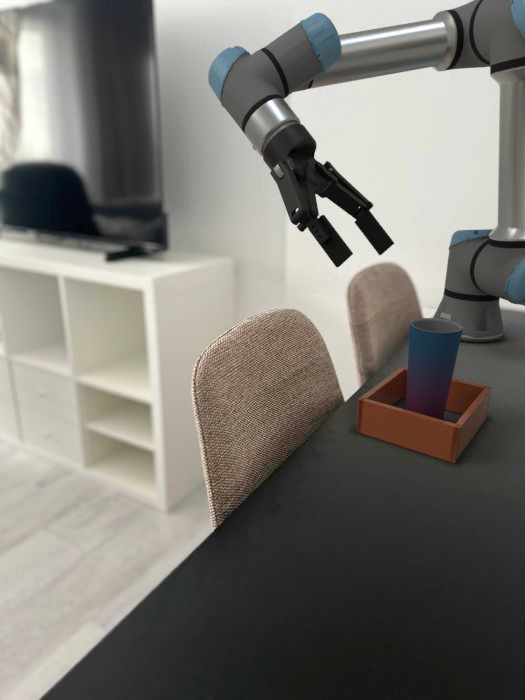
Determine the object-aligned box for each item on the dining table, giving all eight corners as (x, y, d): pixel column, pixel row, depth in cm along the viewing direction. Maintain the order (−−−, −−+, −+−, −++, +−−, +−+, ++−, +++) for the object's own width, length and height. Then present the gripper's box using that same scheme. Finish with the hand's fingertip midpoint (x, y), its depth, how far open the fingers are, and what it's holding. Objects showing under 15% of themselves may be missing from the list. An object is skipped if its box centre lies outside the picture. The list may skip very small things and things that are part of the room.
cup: (452, 421, 75) (467, 322, 70) (442, 440, 69) (457, 335, 64) (406, 410, 78) (417, 315, 73) (392, 428, 73) (403, 327, 68)
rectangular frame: (398, 395, 83) (402, 366, 82) (486, 418, 76) (491, 387, 74) (355, 431, 72) (358, 399, 70) (454, 463, 64) (460, 427, 62)
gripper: (309, 162, 87) (384, 260, 84) (212, 158, 68) (303, 284, 65) (339, 127, 82) (419, 229, 79) (243, 112, 63) (344, 246, 60)
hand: (367, 254), depth 72 cm, fingers open, 13 cm apart
